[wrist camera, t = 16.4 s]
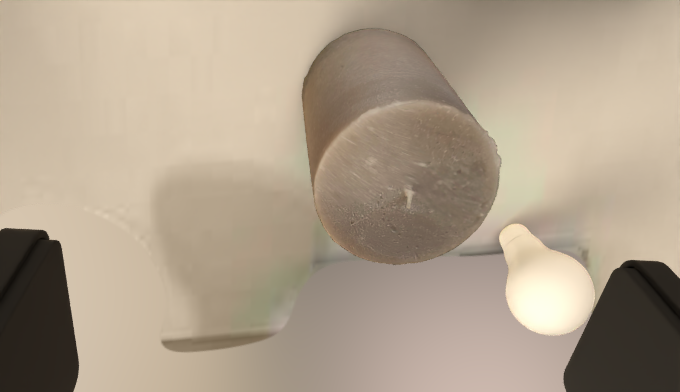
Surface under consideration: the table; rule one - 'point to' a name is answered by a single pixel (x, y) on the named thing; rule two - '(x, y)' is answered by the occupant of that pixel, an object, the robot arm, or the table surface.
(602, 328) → the robot arm
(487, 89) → the table surface
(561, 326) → the lightbulb
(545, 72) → the table surface
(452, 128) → the pillar candle
